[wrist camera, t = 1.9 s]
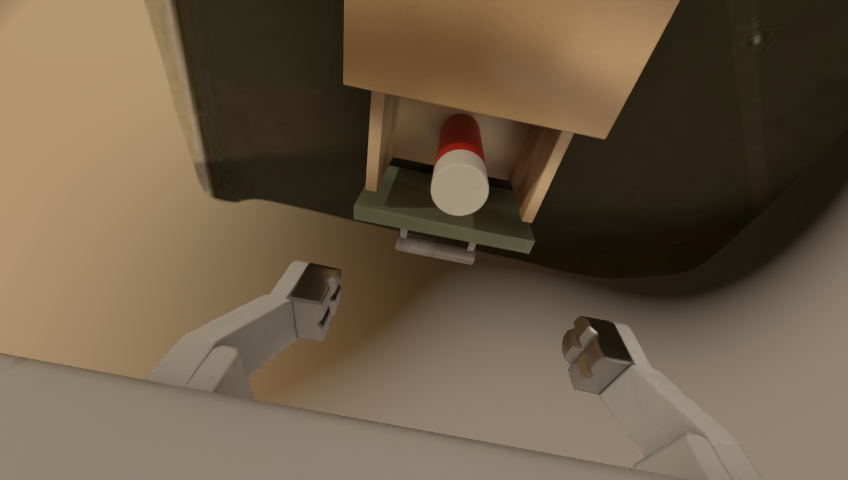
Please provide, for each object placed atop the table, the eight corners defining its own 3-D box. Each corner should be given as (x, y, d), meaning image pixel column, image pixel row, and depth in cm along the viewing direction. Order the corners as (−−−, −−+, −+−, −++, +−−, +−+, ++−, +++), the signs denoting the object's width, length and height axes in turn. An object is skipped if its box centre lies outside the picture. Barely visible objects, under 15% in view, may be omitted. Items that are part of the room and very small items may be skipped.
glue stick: (467, 105, 23) (470, 152, 15) (487, 139, 25) (499, 199, 17) (432, 128, 25) (419, 183, 17) (453, 160, 26) (450, 225, 18)
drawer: (500, 238, 32) (509, 293, 26) (373, 213, 31) (351, 262, 25) (589, 18, 20) (645, 20, 14) (393, -25, 20) (363, -42, 14)
